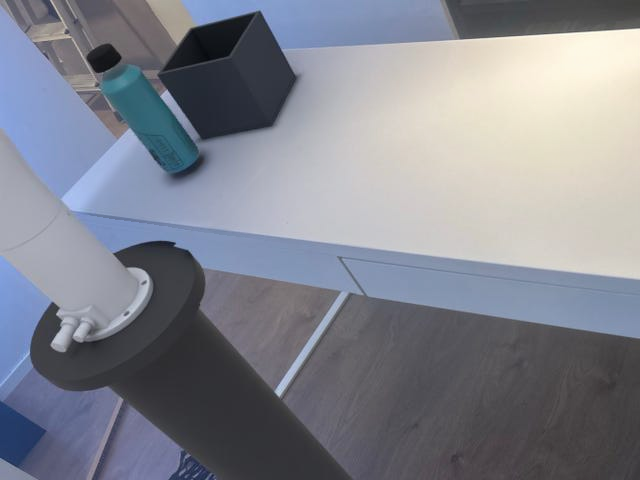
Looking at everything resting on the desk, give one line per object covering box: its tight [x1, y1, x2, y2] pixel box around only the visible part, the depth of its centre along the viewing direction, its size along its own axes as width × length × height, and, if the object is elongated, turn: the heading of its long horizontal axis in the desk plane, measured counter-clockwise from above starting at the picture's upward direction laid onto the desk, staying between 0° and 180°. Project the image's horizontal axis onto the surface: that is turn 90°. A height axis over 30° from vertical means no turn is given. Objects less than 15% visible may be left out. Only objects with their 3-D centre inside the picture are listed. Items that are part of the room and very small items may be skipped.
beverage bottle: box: [85, 42, 200, 174], centre depth 103 cm, size 6×7×20 cm
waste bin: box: [156, 10, 297, 140], centre depth 112 cm, size 13×13×12 cm
